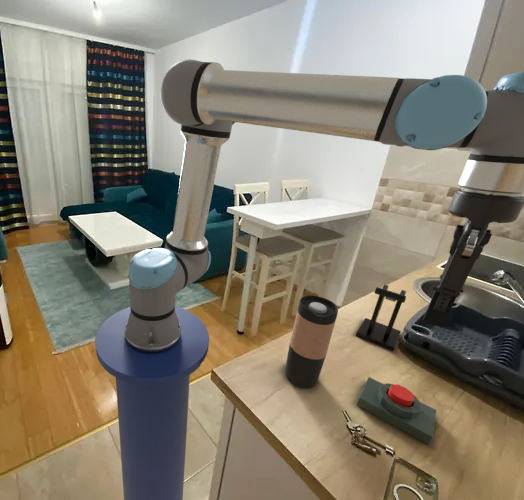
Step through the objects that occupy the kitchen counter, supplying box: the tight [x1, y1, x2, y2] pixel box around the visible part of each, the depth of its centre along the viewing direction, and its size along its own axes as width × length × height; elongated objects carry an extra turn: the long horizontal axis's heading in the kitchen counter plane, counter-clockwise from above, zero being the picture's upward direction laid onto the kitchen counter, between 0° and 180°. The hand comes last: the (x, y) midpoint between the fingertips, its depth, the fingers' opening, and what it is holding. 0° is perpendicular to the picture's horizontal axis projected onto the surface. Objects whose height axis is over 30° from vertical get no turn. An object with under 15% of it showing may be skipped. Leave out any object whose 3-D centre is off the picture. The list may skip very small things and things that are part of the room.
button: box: [388, 384, 415, 407], centre depth 59 cm, size 4×4×2 cm
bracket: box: [355, 284, 407, 352], centre depth 81 cm, size 10×9×15 cm
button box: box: [356, 376, 437, 445], centre depth 60 cm, size 12×8×4 cm, turn 46°
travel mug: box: [284, 295, 339, 389], centre depth 65 cm, size 8×8×20 cm
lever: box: [374, 286, 407, 304], centre depth 75 cm, size 13×6×2 cm, turn 136°
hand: (432, 322), depth 52 cm, fingers closed
